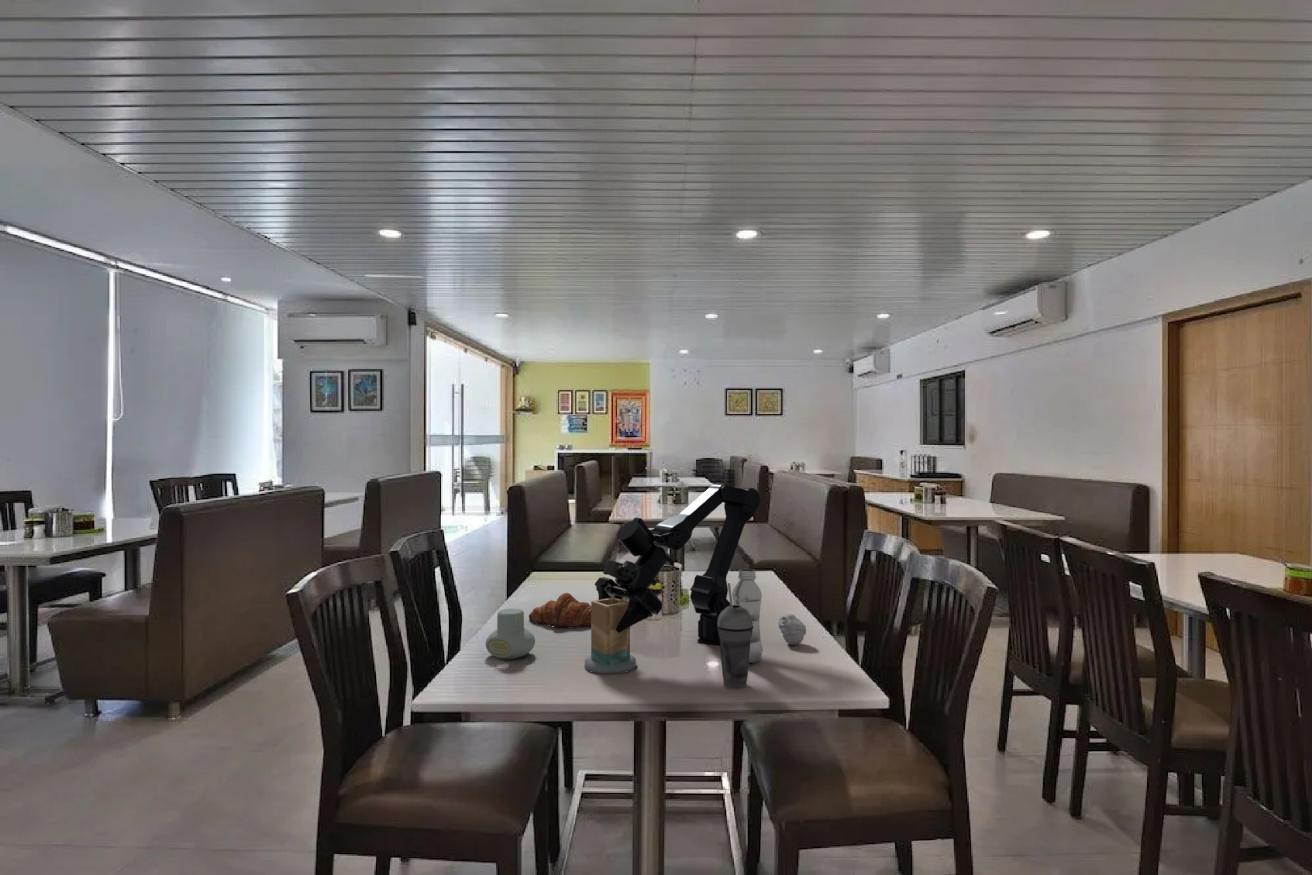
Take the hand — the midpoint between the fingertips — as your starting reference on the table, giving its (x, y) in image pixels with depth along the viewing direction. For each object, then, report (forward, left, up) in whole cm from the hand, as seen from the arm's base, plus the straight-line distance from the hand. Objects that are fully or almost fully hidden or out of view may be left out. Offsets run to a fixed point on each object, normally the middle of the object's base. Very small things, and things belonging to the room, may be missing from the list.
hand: (605, 626), depth 143 cm
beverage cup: (-29, -1, -9) cm, 30 cm away
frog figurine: (-33, -33, -9) cm, 47 cm away
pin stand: (-1, -1, -9) cm, 9 cm away
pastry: (+27, -28, -9) cm, 40 cm away
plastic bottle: (-27, -16, -9) cm, 32 cm away
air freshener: (+23, +2, -9) cm, 25 cm away
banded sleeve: (-1, -1, -7) cm, 7 cm away
